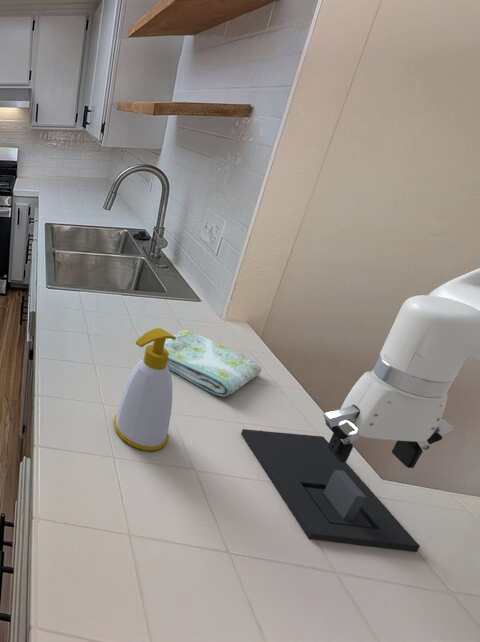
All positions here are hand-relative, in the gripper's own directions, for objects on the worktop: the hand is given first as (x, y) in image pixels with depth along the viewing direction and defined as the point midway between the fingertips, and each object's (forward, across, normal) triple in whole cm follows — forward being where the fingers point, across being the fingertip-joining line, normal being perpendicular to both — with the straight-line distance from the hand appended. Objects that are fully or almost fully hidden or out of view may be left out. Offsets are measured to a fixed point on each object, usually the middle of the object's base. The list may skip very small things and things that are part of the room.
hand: (368, 457), depth 64 cm
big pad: (+13, +1, -5) cm, 14 cm away
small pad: (+13, +1, 0) cm, 13 cm away
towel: (+13, +8, -39) cm, 42 cm away
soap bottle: (+12, +31, -14) cm, 36 cm away
